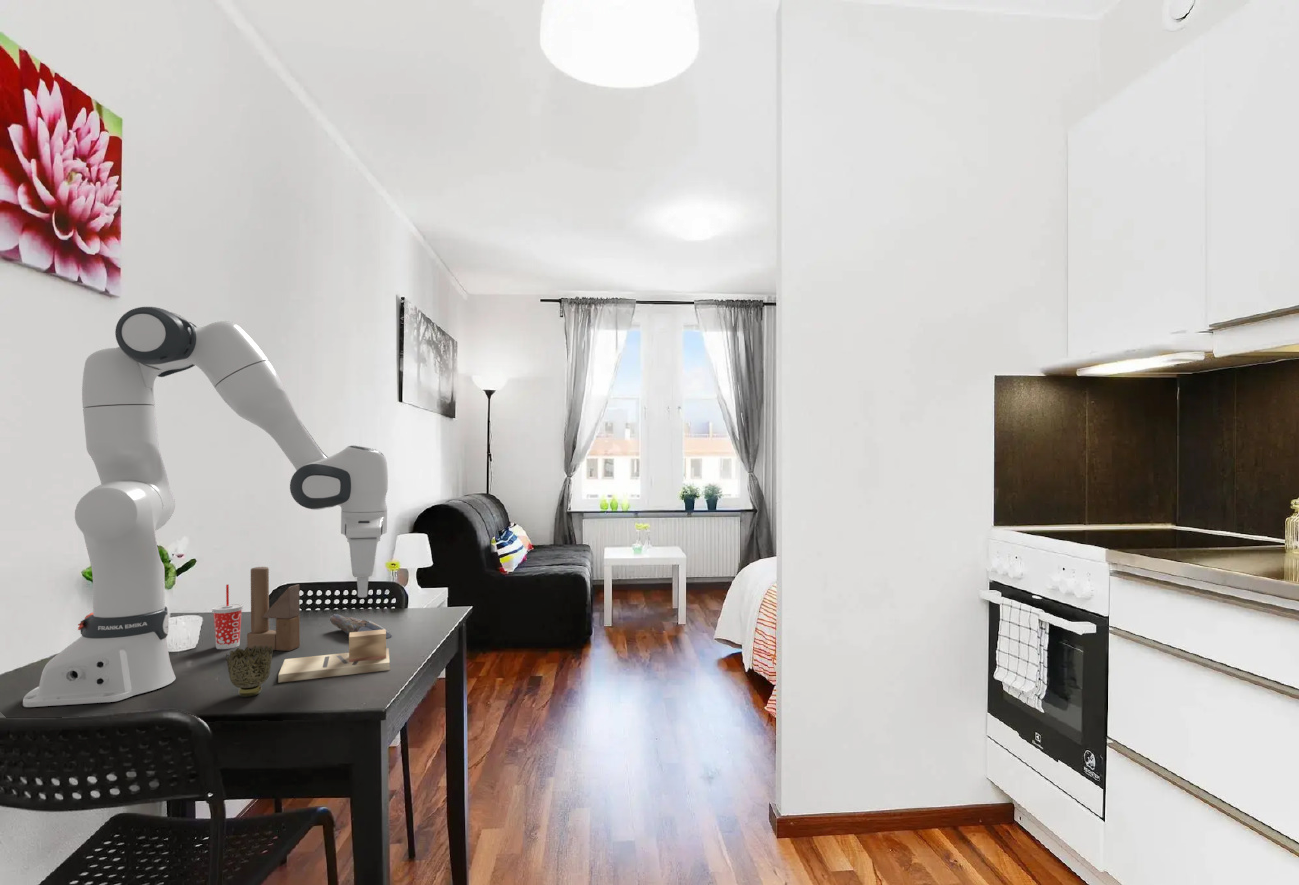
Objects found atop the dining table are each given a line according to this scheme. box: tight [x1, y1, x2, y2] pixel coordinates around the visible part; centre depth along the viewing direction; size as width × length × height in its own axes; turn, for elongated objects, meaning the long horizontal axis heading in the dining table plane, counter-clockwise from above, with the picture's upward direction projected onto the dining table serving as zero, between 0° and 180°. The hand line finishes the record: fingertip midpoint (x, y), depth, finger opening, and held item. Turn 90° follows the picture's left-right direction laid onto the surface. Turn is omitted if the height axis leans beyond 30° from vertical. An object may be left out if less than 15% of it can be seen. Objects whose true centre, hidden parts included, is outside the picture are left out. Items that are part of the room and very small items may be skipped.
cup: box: [225, 646, 274, 698], centre depth 132 cm, size 8×7×8 cm
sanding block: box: [348, 628, 387, 662], centre depth 149 cm, size 7×4×5 cm, turn 111°
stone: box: [329, 613, 393, 639], centre depth 174 cm, size 17×5×10 cm
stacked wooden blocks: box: [246, 566, 301, 652], centre depth 163 cm, size 4×11×18 cm, turn 80°
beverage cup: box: [211, 584, 244, 650], centre depth 165 cm, size 6×6×14 cm
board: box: [277, 648, 391, 683], centre depth 147 cm, size 20×11×2 cm, turn 111°
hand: (362, 592), depth 149 cm, fingers open, 8 cm apart
